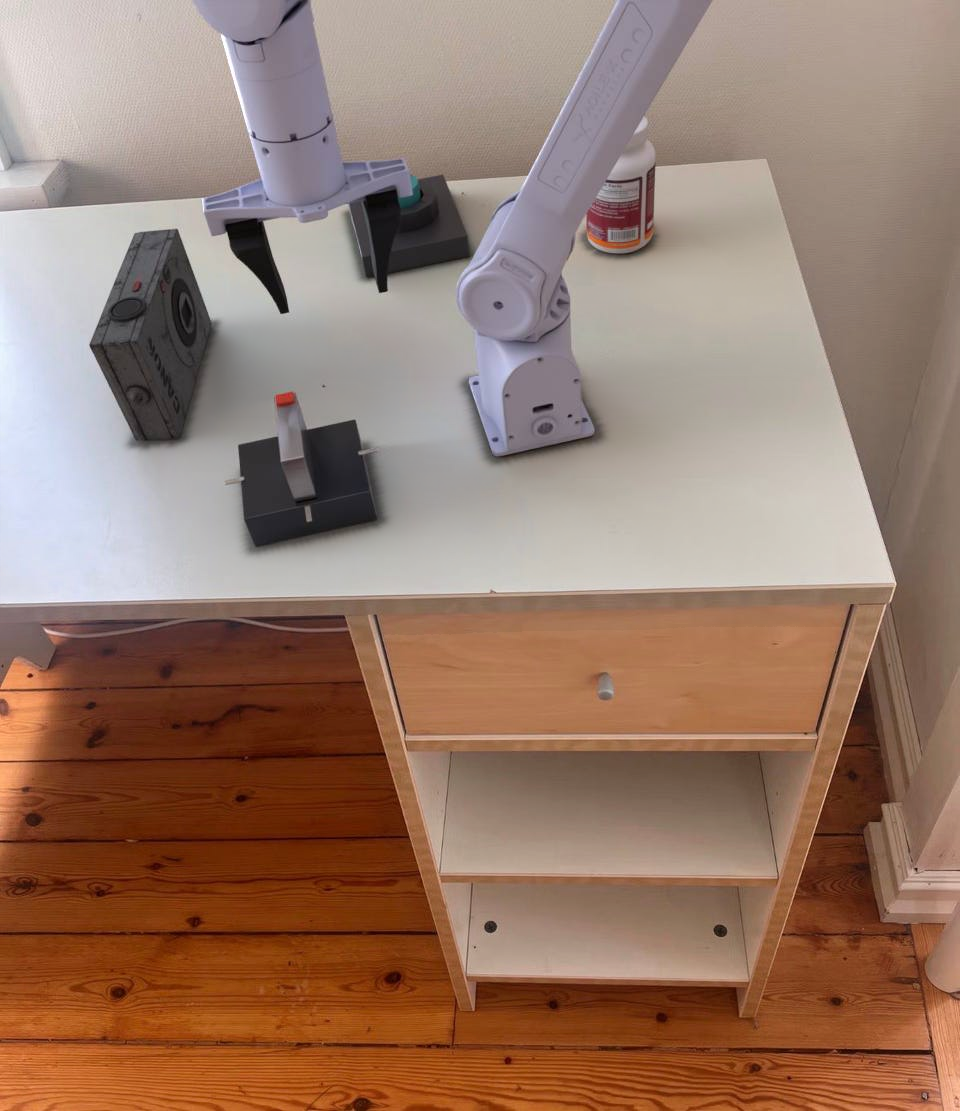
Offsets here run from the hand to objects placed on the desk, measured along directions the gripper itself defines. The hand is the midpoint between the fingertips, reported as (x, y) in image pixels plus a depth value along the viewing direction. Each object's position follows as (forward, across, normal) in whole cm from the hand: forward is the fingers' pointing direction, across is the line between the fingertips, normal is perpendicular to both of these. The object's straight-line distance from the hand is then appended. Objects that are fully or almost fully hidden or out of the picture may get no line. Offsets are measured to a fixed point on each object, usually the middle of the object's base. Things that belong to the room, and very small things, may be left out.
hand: (332, 295), depth 75 cm
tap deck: (+8, -5, -12) cm, 16 cm away
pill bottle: (+8, +27, +12) cm, 31 cm away
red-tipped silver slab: (+5, -5, -12) cm, 14 cm away
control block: (+8, +8, +20) cm, 24 cm away
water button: (+5, +8, +21) cm, 23 cm away
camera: (+8, -15, +5) cm, 18 cm away
